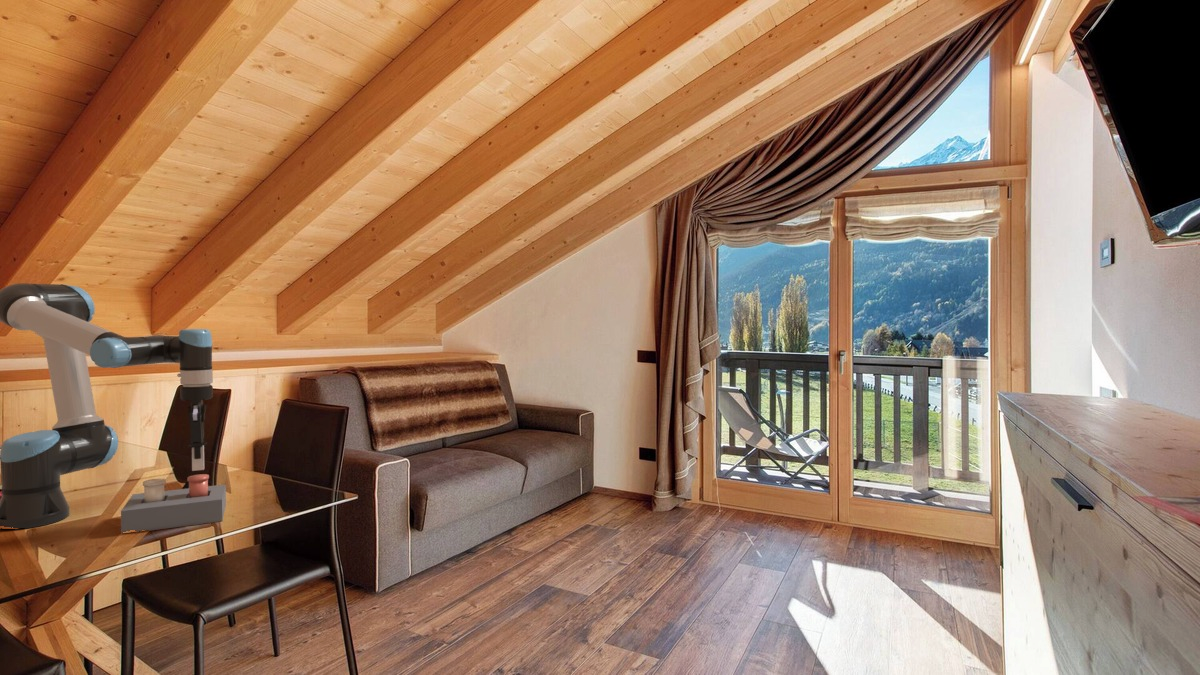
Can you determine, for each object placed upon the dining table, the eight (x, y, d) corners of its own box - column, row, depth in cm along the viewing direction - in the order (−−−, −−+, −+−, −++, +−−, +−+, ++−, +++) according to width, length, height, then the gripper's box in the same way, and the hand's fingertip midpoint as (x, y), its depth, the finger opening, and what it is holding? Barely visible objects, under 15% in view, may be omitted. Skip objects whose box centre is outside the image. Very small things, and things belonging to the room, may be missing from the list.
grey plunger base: (133, 515, 172) (132, 494, 171) (225, 504, 182) (225, 484, 182) (121, 534, 158) (120, 511, 157) (222, 521, 168) (222, 499, 168)
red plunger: (188, 499, 173) (188, 475, 173) (210, 497, 175) (209, 473, 175) (186, 504, 169) (186, 479, 168) (208, 502, 171) (208, 477, 171)
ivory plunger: (145, 504, 168) (144, 479, 168) (167, 502, 171) (166, 477, 170) (141, 509, 164) (141, 484, 164) (164, 507, 166) (164, 482, 166)
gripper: (183, 383, 175) (184, 465, 176) (177, 388, 163) (179, 477, 164) (214, 381, 178) (215, 463, 179) (210, 386, 167) (212, 473, 168)
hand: (198, 469), depth 172 cm, fingers closed
